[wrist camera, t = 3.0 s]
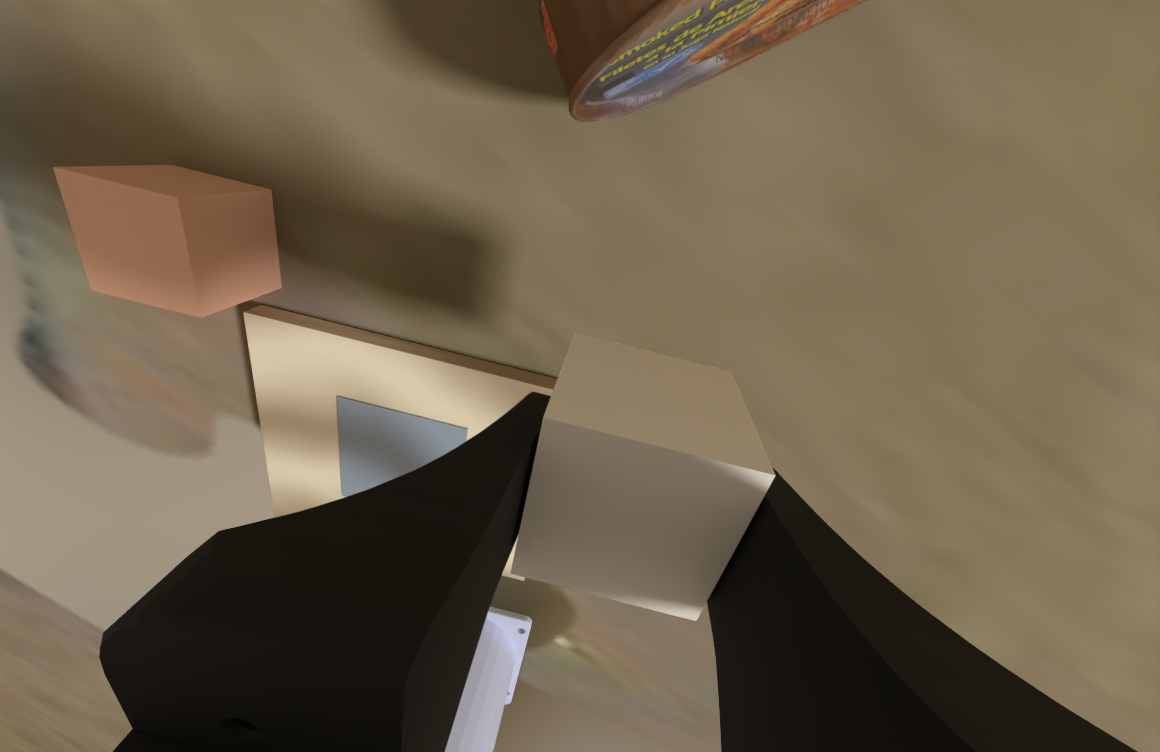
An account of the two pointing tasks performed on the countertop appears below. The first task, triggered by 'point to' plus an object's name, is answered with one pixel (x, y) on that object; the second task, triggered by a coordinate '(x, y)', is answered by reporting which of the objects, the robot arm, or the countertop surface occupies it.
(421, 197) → the countertop surface
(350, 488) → the base board
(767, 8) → the tin
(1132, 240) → the countertop surface
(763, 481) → the block base
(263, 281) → the block top
